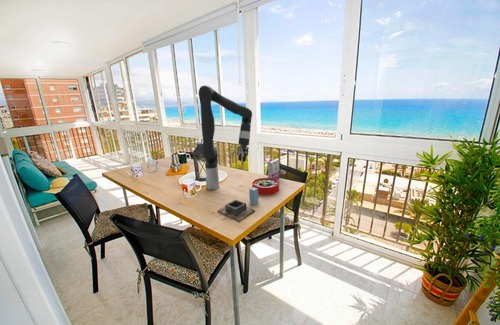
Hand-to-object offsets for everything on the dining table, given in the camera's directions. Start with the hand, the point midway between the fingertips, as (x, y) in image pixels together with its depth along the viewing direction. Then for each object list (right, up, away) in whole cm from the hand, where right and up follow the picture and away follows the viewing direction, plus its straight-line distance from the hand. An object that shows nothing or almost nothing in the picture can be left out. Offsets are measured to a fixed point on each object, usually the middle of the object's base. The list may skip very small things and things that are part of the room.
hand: (241, 161), depth 138 cm
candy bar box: (+26, -16, +30) cm, 43 cm away
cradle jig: (-2, -31, -19) cm, 36 cm away
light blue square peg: (+9, -28, -10) cm, 30 cm away
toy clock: (+18, -22, +11) cm, 30 cm away
